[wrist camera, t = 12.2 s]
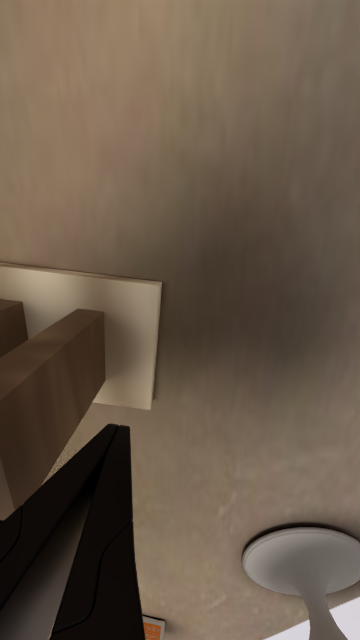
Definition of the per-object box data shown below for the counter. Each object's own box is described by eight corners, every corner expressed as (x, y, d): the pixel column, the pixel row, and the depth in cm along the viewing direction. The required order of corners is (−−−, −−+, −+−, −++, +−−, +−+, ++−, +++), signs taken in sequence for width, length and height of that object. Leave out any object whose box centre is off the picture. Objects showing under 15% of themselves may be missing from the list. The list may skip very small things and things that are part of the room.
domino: (104, 311, 13) (-12, 411, 6) (105, 380, 15) (18, 522, 8) (77, 308, 13) (-71, 402, 6) (82, 377, 15) (-27, 516, 8)
